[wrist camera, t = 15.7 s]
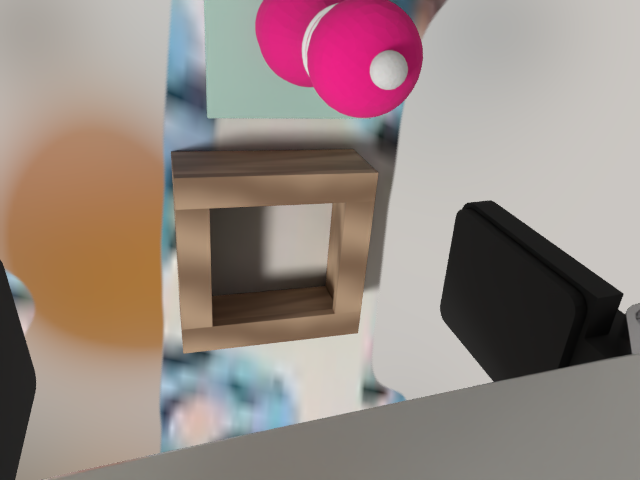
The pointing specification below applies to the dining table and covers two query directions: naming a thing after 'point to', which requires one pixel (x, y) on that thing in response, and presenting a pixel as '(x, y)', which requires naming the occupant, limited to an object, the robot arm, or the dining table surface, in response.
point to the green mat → (249, 70)
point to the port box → (271, 190)
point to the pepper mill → (343, 51)
